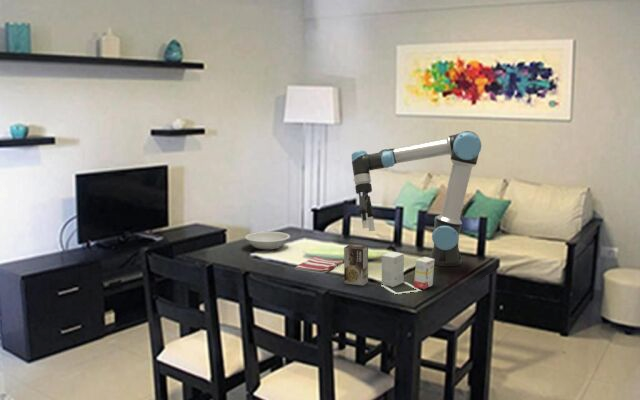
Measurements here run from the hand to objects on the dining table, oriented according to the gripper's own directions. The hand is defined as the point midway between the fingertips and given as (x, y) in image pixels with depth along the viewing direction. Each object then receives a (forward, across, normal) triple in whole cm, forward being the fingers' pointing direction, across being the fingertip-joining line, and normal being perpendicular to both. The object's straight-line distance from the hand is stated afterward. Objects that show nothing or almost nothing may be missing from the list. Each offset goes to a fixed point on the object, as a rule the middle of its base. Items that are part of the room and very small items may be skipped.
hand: (369, 229), depth 282 cm
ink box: (+29, +11, +22) cm, 38 cm away
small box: (+26, +10, +9) cm, 29 cm away
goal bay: (+28, +15, +13) cm, 35 cm away
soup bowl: (-2, -32, -62) cm, 70 cm away
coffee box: (+24, +13, -6) cm, 28 cm away
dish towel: (+13, -9, -27) cm, 32 cm away
